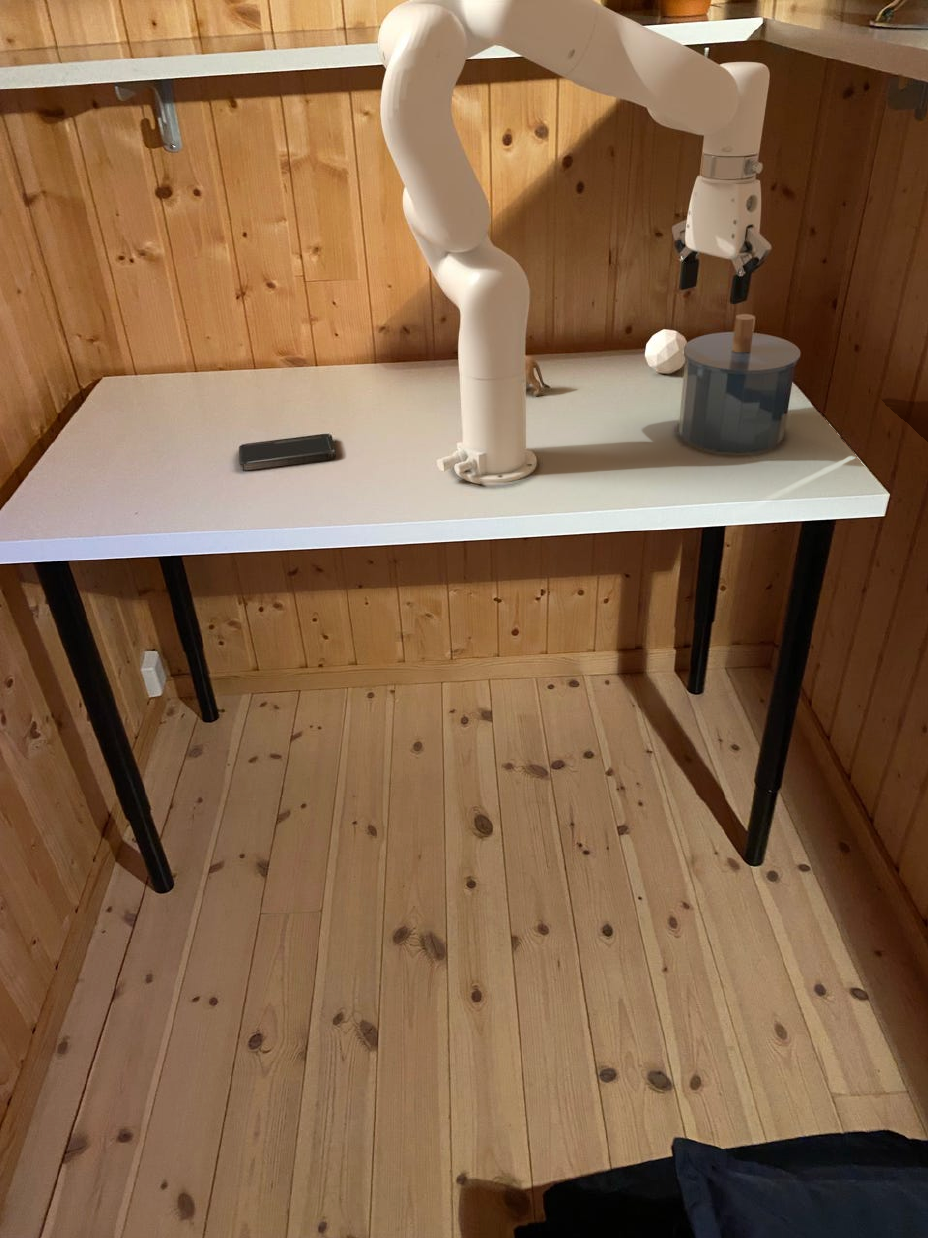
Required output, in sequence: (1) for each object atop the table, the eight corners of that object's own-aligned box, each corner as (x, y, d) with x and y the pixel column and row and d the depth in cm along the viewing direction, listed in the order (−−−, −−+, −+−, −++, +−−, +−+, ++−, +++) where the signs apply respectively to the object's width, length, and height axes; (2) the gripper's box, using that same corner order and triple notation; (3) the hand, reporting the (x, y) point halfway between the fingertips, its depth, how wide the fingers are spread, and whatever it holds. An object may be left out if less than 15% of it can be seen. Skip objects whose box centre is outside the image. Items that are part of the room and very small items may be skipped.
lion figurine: (468, 400, 162) (466, 350, 157) (467, 389, 167) (465, 340, 162) (551, 395, 163) (552, 345, 157) (548, 384, 167) (548, 335, 162)
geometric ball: (653, 387, 170) (629, 354, 167) (673, 360, 174) (650, 327, 171) (684, 377, 164) (659, 342, 161) (704, 348, 167) (680, 313, 164)
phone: (335, 452, 145) (238, 464, 143) (336, 458, 145) (240, 471, 143) (331, 432, 151) (238, 443, 149) (332, 438, 152) (240, 450, 150)
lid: (748, 387, 129) (754, 344, 126) (659, 357, 141) (662, 317, 137) (823, 358, 137) (830, 316, 134) (732, 331, 148) (737, 292, 145)
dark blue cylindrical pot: (737, 465, 137) (748, 381, 129) (657, 433, 148) (664, 353, 140) (804, 435, 144) (818, 354, 137) (724, 406, 155) (733, 329, 148)
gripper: (798, 171, 122) (776, 302, 132) (699, 157, 133) (685, 278, 143) (761, 179, 118) (741, 313, 128) (662, 163, 130) (651, 287, 140)
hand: (712, 294), depth 136 cm, fingers open, 9 cm apart
